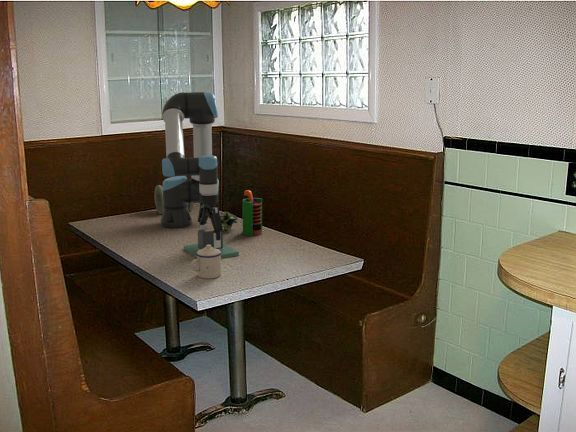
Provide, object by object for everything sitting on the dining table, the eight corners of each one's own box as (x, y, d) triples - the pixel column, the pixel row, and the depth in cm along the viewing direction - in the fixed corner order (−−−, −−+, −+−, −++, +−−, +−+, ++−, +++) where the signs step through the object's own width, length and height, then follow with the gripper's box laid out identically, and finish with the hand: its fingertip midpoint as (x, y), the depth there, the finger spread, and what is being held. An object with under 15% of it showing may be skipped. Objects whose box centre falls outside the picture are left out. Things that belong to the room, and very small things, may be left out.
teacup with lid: (214, 269, 245) (213, 240, 242) (226, 276, 237) (225, 245, 235) (185, 275, 238) (184, 245, 235) (197, 282, 231) (196, 251, 228)
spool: (164, 216, 329) (162, 188, 326) (155, 211, 342) (153, 183, 338) (194, 213, 337) (193, 185, 333) (184, 207, 350) (183, 180, 346)
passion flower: (225, 240, 305) (237, 218, 307) (233, 242, 295) (245, 219, 297) (205, 229, 300) (217, 207, 303) (212, 230, 290) (225, 207, 293)
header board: (183, 249, 272) (183, 239, 270) (218, 243, 279) (217, 233, 278) (202, 261, 255) (202, 250, 254) (238, 255, 263) (238, 244, 262)
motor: (259, 236, 291) (258, 193, 286) (240, 235, 293) (239, 192, 288) (264, 230, 301) (263, 189, 296) (245, 230, 302) (245, 188, 298)
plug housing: (198, 248, 267) (197, 229, 265) (218, 245, 271) (217, 226, 269) (203, 251, 262) (202, 232, 260) (223, 248, 267) (222, 229, 265)
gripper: (230, 197, 253) (231, 249, 258) (205, 187, 274) (206, 235, 279) (213, 200, 249) (214, 252, 254) (188, 189, 270) (190, 237, 275)
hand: (210, 243), depth 266 cm, fingers open, 13 cm apart
